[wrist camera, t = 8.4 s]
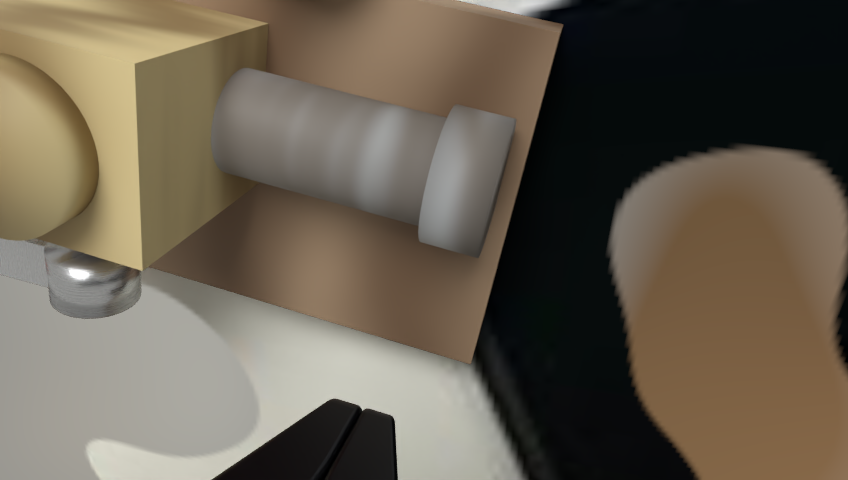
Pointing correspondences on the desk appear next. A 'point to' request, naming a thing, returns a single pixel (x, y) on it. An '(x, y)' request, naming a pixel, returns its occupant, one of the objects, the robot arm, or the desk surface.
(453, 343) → the ball valve manifold
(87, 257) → the lever
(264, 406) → the desk surface
